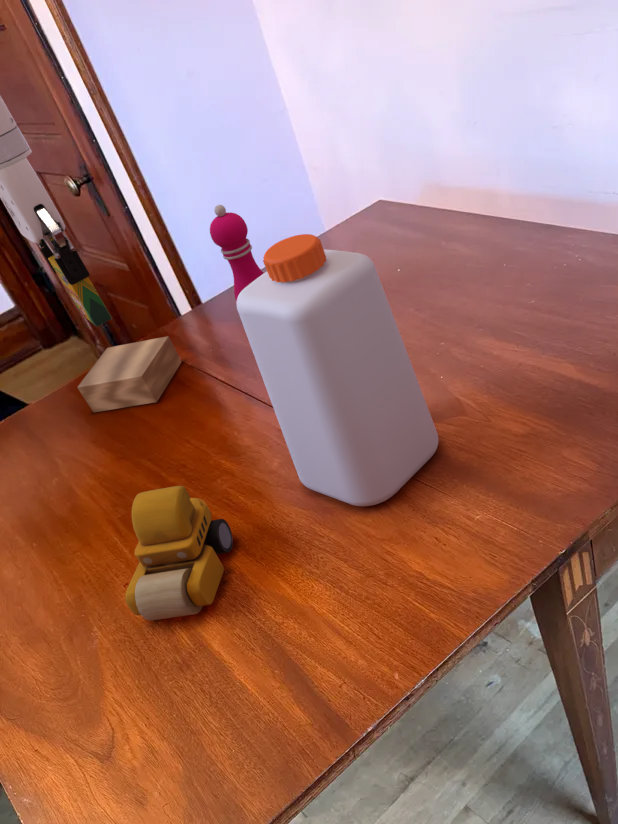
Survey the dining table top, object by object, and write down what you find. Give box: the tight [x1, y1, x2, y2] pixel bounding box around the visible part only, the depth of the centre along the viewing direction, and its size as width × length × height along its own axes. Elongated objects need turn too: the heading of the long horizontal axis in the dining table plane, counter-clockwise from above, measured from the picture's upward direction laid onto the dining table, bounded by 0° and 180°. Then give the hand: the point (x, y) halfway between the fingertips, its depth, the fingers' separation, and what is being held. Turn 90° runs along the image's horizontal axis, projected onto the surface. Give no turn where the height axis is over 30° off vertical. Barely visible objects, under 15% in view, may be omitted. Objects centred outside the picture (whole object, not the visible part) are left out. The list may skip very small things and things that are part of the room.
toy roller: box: [124, 485, 234, 622], centre depth 82 cm, size 9×14×10 cm, turn 177°
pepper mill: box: [209, 204, 265, 303], centre depth 124 cm, size 7×7×20 cm
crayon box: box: [48, 255, 113, 328], centre depth 113 cm, size 7×3×12 cm, turn 36°
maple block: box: [77, 335, 183, 413], centre depth 123 cm, size 12×12×5 cm
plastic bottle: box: [235, 233, 439, 507], centre depth 83 cm, size 15×15×28 cm
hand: (71, 274), depth 112 cm, fingers closed on crayon box, 7 cm apart
